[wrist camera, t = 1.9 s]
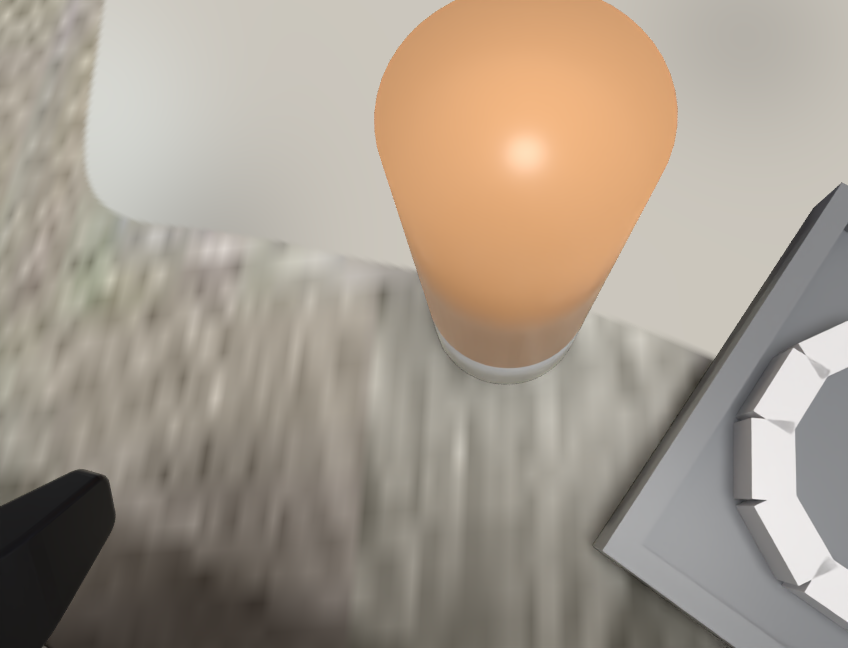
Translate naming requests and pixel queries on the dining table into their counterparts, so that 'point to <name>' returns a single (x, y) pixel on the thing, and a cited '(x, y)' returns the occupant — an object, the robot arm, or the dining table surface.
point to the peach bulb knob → (521, 168)
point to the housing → (759, 465)
